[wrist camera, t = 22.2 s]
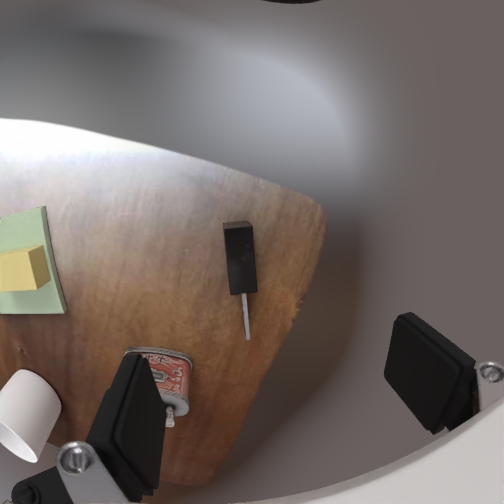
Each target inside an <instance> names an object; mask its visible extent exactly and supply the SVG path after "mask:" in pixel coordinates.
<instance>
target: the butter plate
mask: <svg viewBox="0 0 504 504" xmlns="http://www.w3.org/2000/svg"><path fill="white" fill-rule="evenodd" d="M39 245H43V249H44V254H45V258H46V263H47V267H48V271H49V275H50V279H51V280H50V281H49V282H47V283H46V284H45V285H43V286H42V287H40V288H39V289H38V290H27V291H11V292H0V314H53V313H65V312H66V311H67V306H66V303H65V300H64V296H63V293H62V289H61V286H60V282H59V278H58V274H57V270H56V266H55V261H54V257H53V252H52V247H51V242H50V236H49V230H48V224H47V217H46V210H45V206H42V207H38V208H34V209H31V210H27V211H23V212H20V213H16V214H13V215H9V216H6V217H3V218H0V253H1V252H7V251H12V250H17V249H22V248H28V247H33V246H39Z"/></svg>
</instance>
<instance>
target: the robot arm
mask: <svg viewBox="0 0 504 504" xmlns="http://www.w3.org/2000/svg"><path fill="white" fill-rule="evenodd" d="M475 363H476V361H475V360H474V359H473V358H472V357H470V356H469V355H468V354H467V353H465V352H464V351H463V350H461V349H460V348H459V347H458V346H456V345H455V344H454V343H452V342H451V341H450V340H449V339H447V338H446V337H445V336H443V335H442V334H441V333H439V332H438V331H437V330H435V329H434V328H432V327H431V326H430V325H429V324H427V323H426V322H425V321H423V320H422V319H421V318H419V317H418V316H416V315H415V314H414V313H412V312H409V313H405V314H401V315H399V316H398V317H397V319H396V320H395V321H394V325H393V331H392V336H391V341H390V347H389V352H388V356H387V361H386V365H385V370H384V377H385V379H386V381H387V382H388V383H389V384H390V385H391V387H392V388H393V389H394V390H395V392H396V393H397V394H398V395H399V397H400V398H401V399H402V400H403V401H404V403H405V404H406V405H407V407H408V408H409V409H410V410H411V412H412V413H413V414H414V415H415V417H416V418H417V419H418V420H419V422H420V423H421V424H422V425H423V427H424V428H425V429H426V430H430V432H431V433H432V434H433V435H434V434H436V433H438V432H440V431H442V430H443V429H444V427H445V426H446V427H447V429H448V431H447V434H446V435H444V436H442V437H441V438H439V439H437V440H436V441H434V442H432V443H430V444H429V445H427V446H425V447H423V448H421V449H419V450H417V451H416V452H413V453H411V454H410V455H407V456H405V457H403V458H401V459H399V460H397V461H395V462H392V463H390V464H388V465H385V466H383V467H381V468H378V469H376V470H374V471H371V472H368V473H366V474H363V475H360V476H358V477H355V478H352V479H349V480H346V481H343V482H340V483H337V484H333V485H330V486H326V487H323V488H319V489H315V490H311V491H307V492H303V493H298V494H294V495H289V496H284V497H278V498H273V499H266V500H260V501H251V502H242V503H232V504H504V367H503V366H502V365H500V364H499V363H496V362H492V361H485V362H483V363H481V364H479V365H478V367H477V369H476V370H475V369H474V365H475ZM166 420H167V412H166V408H165V406H164V403H163V400H162V398H161V395H160V393H159V390H158V387H157V385H156V382H155V379H154V376H153V373H152V370H151V367H150V364H149V361H148V359H147V358H146V357H144V358H143V356H142V355H141V354H125V355H124V357H123V360H122V362H121V364H120V366H119V369H118V371H117V373H116V375H115V378H114V380H113V382H112V385H111V387H110V388H109V389H107V391H106V392H105V395H104V397H103V399H102V402H101V404H100V407H99V409H98V412H97V414H96V417H95V419H94V422H93V424H92V427H91V429H90V432H89V434H88V437H87V440H86V443H85V442H82V441H73V442H69V443H67V444H65V445H63V446H62V447H61V448H60V449H59V451H58V452H57V454H56V459H55V461H56V466H54V467H52V468H50V469H48V470H46V471H43V472H41V473H39V474H37V475H34V476H32V477H29V478H27V479H24V480H22V481H20V482H18V483H17V484H16V485H15V486H14V488H13V490H12V501H11V502H10V501H9V500H6V501H5V502H4V503H2V504H143V503H141V502H140V501H141V500H142V495H147V496H153V490H154V489H157V488H158V486H159V476H160V467H161V458H162V450H163V442H164V434H165V427H166ZM144 504H145V503H144Z"/></svg>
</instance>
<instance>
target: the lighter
mask: <svg viewBox="0 0 504 504" xmlns="http://www.w3.org/2000/svg"><path fill="white" fill-rule="evenodd" d="M125 354H141V355H142V356H143V358H144V357H146V358H147V359H148V361H149V364H150V367H151V370H152V373H153V376H154V379H155V382H156V385H157V387H158V390H159V393H160V395H161V398H162V400H163V403H164V406H165V408H166V412H167V420H166V427H173V426H174V422H175V416H183V415H185V414H187V412H188V410H189V400H188V390H189V379H190V372H191V371H192V364H193V363H192V359H191V358H190V357H189V356H188V355H187V354H184V353H180V352H176V351H172V350H167V349H161V348H153V347H130V348H128V349H127V350H126V352H125ZM125 354H124V355H125ZM110 387H111V386H110Z"/></svg>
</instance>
